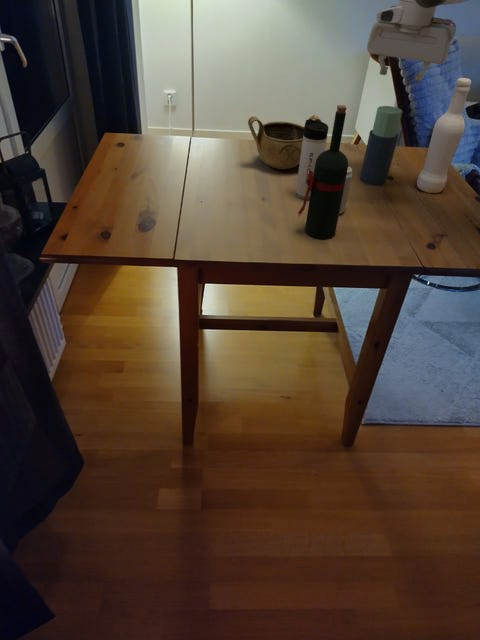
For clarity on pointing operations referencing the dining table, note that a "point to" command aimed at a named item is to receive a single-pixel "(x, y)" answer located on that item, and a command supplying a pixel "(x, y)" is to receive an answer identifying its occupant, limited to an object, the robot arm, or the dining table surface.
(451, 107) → the bottle
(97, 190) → the dining table surface
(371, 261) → the dining table surface
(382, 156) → the water bottle
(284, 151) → the ceramic bowl
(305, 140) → the travel mug
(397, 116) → the paper cup
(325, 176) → the wine bottle
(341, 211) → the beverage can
